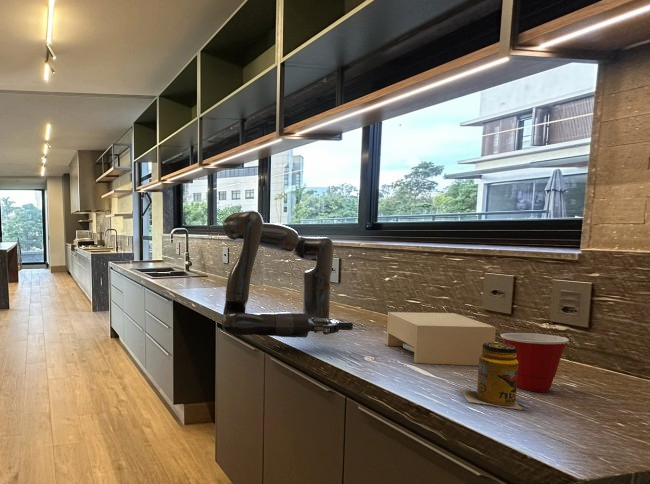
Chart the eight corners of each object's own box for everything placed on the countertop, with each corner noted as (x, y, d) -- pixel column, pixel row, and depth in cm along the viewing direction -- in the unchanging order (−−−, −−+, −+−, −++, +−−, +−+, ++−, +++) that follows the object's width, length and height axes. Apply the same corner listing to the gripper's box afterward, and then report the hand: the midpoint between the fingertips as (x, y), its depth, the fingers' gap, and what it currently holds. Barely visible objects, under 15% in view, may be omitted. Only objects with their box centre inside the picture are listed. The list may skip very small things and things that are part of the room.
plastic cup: (515, 376, 100) (518, 327, 99) (576, 392, 90) (581, 338, 88) (485, 382, 96) (488, 332, 95) (545, 399, 86) (550, 344, 85)
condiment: (523, 410, 82) (528, 351, 80) (468, 402, 86) (472, 346, 85) (510, 397, 88) (514, 342, 87) (459, 390, 92) (463, 338, 91)
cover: (386, 344, 128) (387, 312, 127) (452, 346, 125) (454, 313, 124) (415, 363, 111) (417, 325, 110) (493, 366, 107) (495, 327, 106)
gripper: (294, 317, 118) (360, 318, 115) (285, 308, 131) (344, 309, 128) (294, 342, 119) (359, 344, 115) (285, 331, 132) (343, 332, 128)
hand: (351, 326), depth 122 cm, fingers closed
